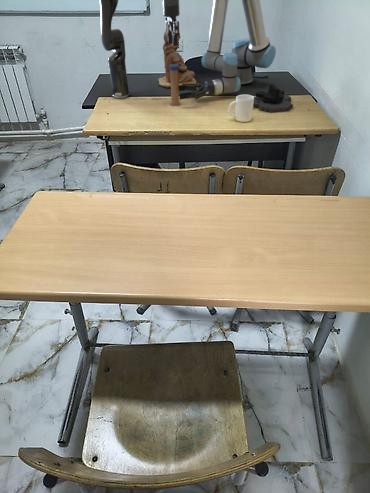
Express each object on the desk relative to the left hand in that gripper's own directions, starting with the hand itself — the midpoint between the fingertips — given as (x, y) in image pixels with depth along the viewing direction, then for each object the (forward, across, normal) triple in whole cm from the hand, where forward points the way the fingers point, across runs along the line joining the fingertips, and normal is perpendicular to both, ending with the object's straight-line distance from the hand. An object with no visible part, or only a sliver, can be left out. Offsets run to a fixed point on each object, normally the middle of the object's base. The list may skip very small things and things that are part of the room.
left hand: (172, 44), depth 175 cm
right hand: (+23, +1, 0) cm, 23 cm away
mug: (+29, +34, +21) cm, 50 cm away
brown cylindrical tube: (+29, 0, 0) cm, 29 cm away
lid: (+10, 0, 0) cm, 10 cm away
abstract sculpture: (+29, +23, +45) cm, 58 cm away
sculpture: (+29, -37, +14) cm, 49 cm away
